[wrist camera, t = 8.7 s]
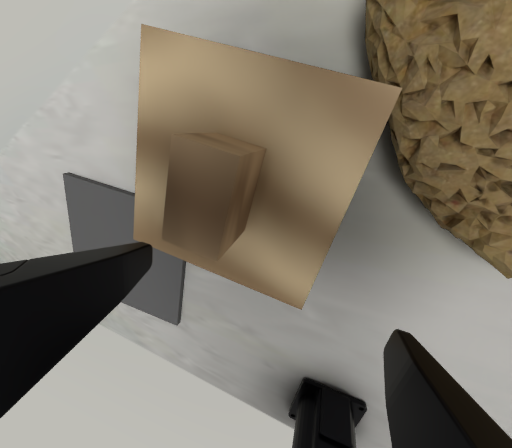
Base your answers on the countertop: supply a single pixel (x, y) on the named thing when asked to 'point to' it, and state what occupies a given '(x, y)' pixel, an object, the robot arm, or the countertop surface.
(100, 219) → the rubber mat
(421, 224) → the countertop surface
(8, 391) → the robot arm
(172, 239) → the oak lid
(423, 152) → the sponge
